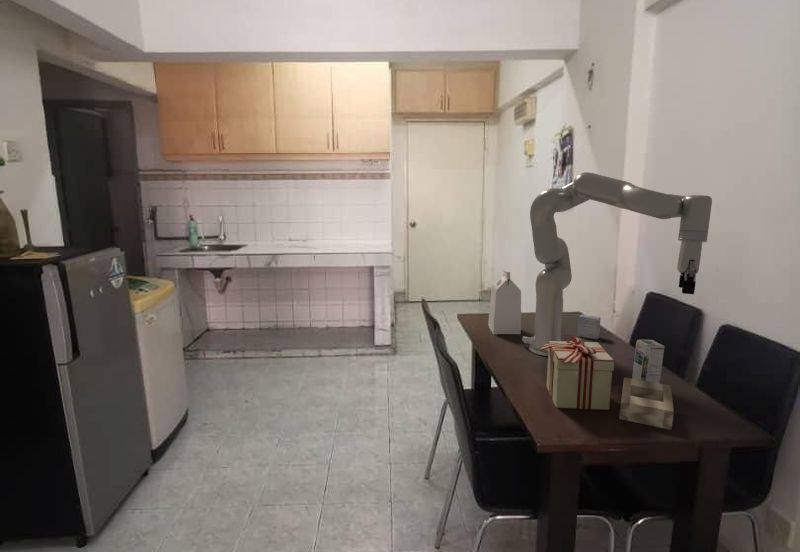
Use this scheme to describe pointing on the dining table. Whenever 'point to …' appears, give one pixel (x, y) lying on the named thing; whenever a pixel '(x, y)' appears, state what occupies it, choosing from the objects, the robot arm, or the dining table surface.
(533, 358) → the dining table surface
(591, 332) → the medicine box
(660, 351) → the syrup box
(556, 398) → the gift box
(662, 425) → the socket block
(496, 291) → the milk
